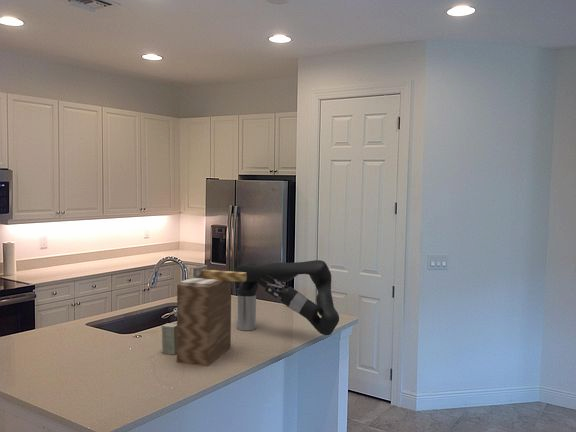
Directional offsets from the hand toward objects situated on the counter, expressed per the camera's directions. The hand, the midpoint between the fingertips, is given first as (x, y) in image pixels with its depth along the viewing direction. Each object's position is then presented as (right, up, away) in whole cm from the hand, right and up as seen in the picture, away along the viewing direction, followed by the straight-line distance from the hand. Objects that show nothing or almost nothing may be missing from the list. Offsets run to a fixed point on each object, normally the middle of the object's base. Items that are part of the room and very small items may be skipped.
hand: (262, 278), depth 215 cm
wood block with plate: (-18, -1, +7) cm, 19 cm away
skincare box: (-40, -33, +7) cm, 52 cm away
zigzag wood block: (-25, -33, +6) cm, 42 cm away
